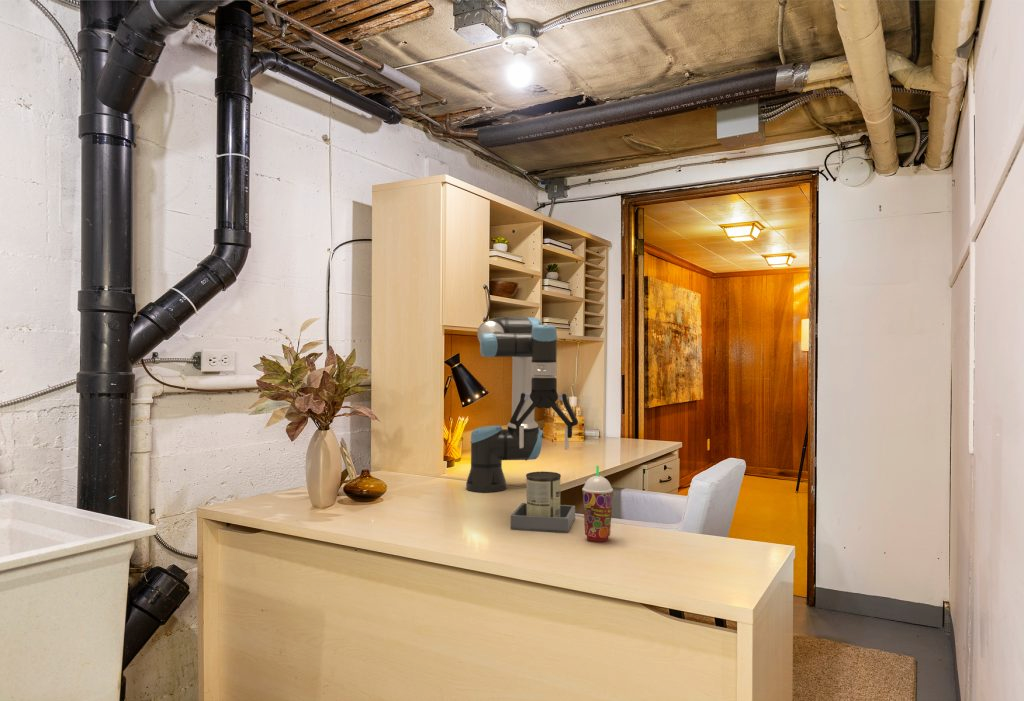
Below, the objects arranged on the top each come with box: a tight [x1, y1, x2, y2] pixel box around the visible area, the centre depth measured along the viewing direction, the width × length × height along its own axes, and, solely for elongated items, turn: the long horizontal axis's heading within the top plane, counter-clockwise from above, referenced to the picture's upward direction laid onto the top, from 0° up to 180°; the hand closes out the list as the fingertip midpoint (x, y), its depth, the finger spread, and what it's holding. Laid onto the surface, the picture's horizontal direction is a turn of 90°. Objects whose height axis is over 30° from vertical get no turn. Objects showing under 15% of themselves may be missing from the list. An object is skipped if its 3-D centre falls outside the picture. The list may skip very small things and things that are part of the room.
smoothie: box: [581, 465, 614, 543], centre depth 179 cm, size 8×8×20 cm
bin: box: [510, 502, 576, 534], centre depth 195 cm, size 17×17×4 cm
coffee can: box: [525, 471, 562, 518], centre depth 195 cm, size 10×10×14 cm
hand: (543, 448), depth 195 cm, fingers open, 13 cm apart
